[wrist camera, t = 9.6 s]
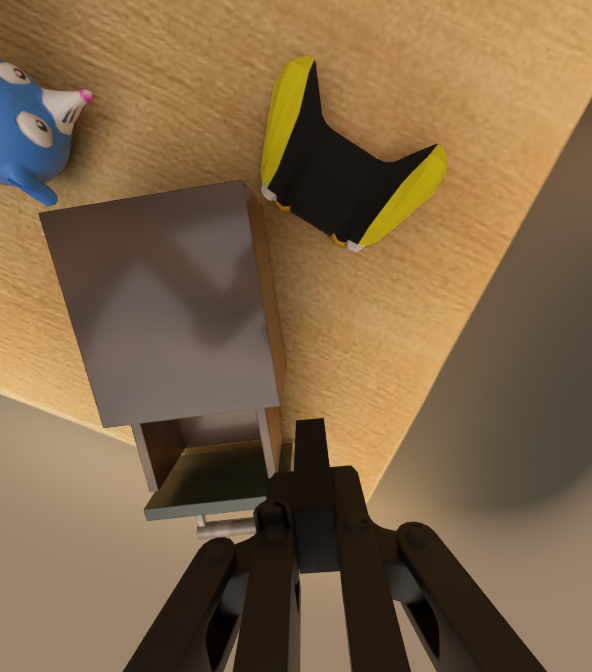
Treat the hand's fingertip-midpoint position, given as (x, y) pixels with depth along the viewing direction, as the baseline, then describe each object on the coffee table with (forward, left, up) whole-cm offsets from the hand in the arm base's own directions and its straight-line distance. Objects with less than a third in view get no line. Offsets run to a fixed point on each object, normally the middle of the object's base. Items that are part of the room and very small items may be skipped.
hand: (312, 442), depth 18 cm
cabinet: (-9, +7, -16) cm, 20 cm away
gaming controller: (+5, +16, -17) cm, 24 cm away
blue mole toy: (-19, +23, -17) cm, 34 cm away
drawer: (-9, -5, -15) cm, 19 cm away
